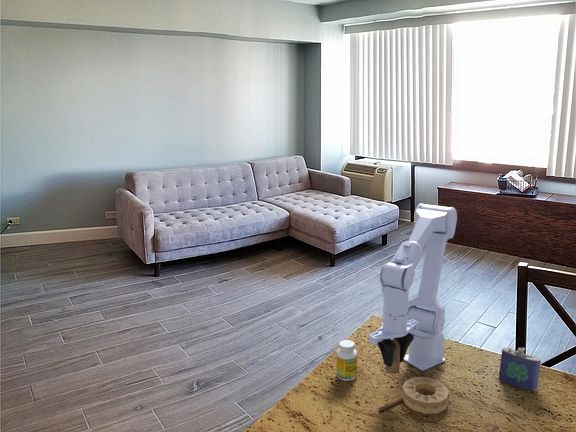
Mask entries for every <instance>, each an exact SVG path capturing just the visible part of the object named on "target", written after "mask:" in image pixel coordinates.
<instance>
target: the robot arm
mask: <svg viewBox="0 0 576 432" xmlns="http://www.w3.org/2000/svg"><path fill="white" fill-rule="evenodd" d="M413 215H414V216H413V220H414V227H413V230H412V232H411V234H410V235H409V238H408V240H405V241H403V242H401V244H400V246H399V247H398V248H397V250H396V252H395V254H394V255H393V257H392V259H391V260H390V261H389V262H387V263H384V264H383V265H382V267H381V270H380V274H379V284H380V287H381V293H382V294H383V307H382V309H383V310H382V311H383V313H382V322H381V323H380V327H379V328H378V329H377V330H376V331H374V332H373V333H371V334H369V335H368V343H369V344H371V345H373V346H378V348H379V350H380V353H381V356H382V360H383V365H384V366H386V365H387V366H388V367H391V366H392V362H393V354H394V350H395V348H396V346H397V345H396V344H395V343H393V342H392V339H395V340H397V341H398V343H400V363H403V362H404V361H405V362H406V363H409V364H410V365H412V366H413V367H415V368H417V369H418V370H419V371H422V372H423V371H425V370H428V369H430V368H432V367H434V366H437V365H439V364H441V363H443V362H445V361H446V358H445V357H444V348H445V337H444V334H443V333H444V332H443V330H444V326H445V319H446V318H445V313H446V309H445V307H444V306H443V304H442V303H441V302H440V300H438V299H437V296H438V292H439V291H438V290H439V284H440V279H441V273H442V268H443V262H444V258H445V257H444V255H445V251H446V247H447V242H448V240H450V239H453V238H454V235H455V232H456V226H457V221H458V213H457V209H456V208H455V207H454V206H450V207H449V206H444V205H443V206H441V205H435V204H434V205H433V204H425V203H422V202H420V203H419V204H418V205H417V206H416V208H415V210H414V214H413ZM426 242H427V244H426ZM424 245H426V249H425V255H424V252H423V249H422V248H423V247H424ZM423 255H424V260H423V266H422V272H421V277H420V283H419V287H418V288H419V289H418V293H417V296H415V297H413V298H411V299H409V293H410V291H409V290H410V289H411V288H412V286H413V282H414V277H415V275H416V270H415V269H416V268H417V266H418V264H419V263H420V261H421V259H422V257H423ZM407 351H408V353H407ZM406 353H407V354H406Z"/></svg>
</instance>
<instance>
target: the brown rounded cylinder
mask: <svg viewBox="0 0 576 432" xmlns="http://www.w3.org/2000/svg"><path fill="white" fill-rule="evenodd" d="M391 340H392V342H393V343H395V344H396V345H397V346H396V348H395V350H394V354H393V362H392V366H391V367H388V366H387V365H385V368H386V369H385V371H386V372H387V373H389V374H395V375H396V374H398V373H399V372H400V366H401V362H400V343H398V341H397V340H395V339H394V338H391Z"/></svg>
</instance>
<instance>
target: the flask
mask: <svg viewBox="0 0 576 432" xmlns="http://www.w3.org/2000/svg"><path fill="white" fill-rule="evenodd" d="M525 351H526V348H525V347H523V346H522V347H518V348H517V350H515V349H512V347H504V348H502V349H501V354H500V355H501V356H500V366H499V372H498V381H499V382H500V383H502V384H504V385H506V386H508V387H511V388H514V389H518V390H520V389H521V391H524V390H525V392H527V391H530V392H529V393H532V392H535V393H537V391H538V386H539V379H540V368H541V362H542V360H541V358H540V357H538V356H534V355H530V354H526V353H525Z"/></svg>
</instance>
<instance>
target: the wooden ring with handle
mask: <svg viewBox="0 0 576 432" xmlns="http://www.w3.org/2000/svg"><path fill="white" fill-rule="evenodd" d="M401 391H402V393H401V394H402V395H401V397H400V398H397V399H395V400H393V401H391V402H389V403H387V404H384V405H382V406H380V407H379V408H378V412H382V411H385V410H386V409H389V408H391V407H393V406H395V405H397V404H399V403H401V402H404V405H405V406H406V407H408V408H410V409H411V411H412V410H413V411H414V412H419V413H420V414H425V415H431V414H432V415H433V414H439V413H441V412H443V411H446V410H447V407H448V404H449V394H450V393H449V390H448V388H447V387H446V385H445V384H444V383H443V382H440V381H439V380H437V379H434V378H429V377H426V376H419V377H418V376H416V377H415V376H414V377H411V378H409V379H407V380H405V381H404V383H403V384H402V390H401Z"/></svg>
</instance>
